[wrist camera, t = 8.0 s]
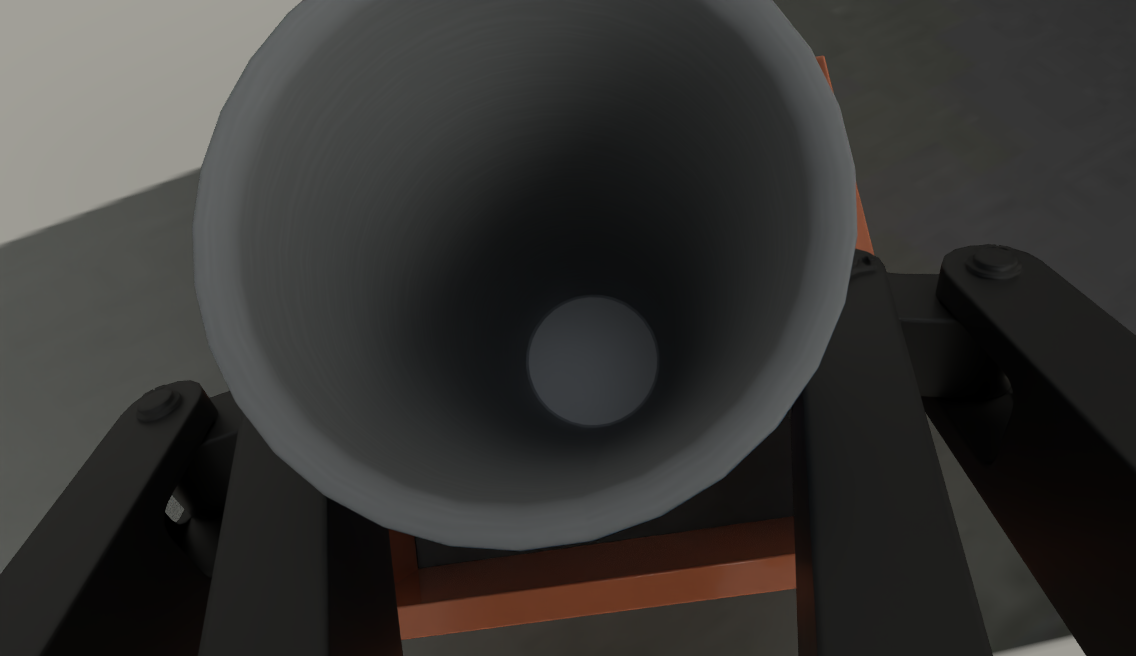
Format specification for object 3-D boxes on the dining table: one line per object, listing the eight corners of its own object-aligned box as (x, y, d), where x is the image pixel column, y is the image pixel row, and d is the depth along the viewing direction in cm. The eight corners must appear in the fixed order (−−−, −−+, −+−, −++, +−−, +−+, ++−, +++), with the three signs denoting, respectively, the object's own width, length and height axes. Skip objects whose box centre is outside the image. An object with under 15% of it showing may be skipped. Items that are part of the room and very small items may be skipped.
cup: (477, 294, 22) (153, 7, 7) (661, 244, 21) (738, -176, 6) (521, 483, 20) (239, 629, 6) (717, 433, 20) (970, 448, 5)
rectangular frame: (398, 596, 20) (323, 650, 15) (362, 216, 23) (288, 158, 18) (870, 531, 19) (954, 568, 14) (779, 139, 21) (824, 54, 16)
